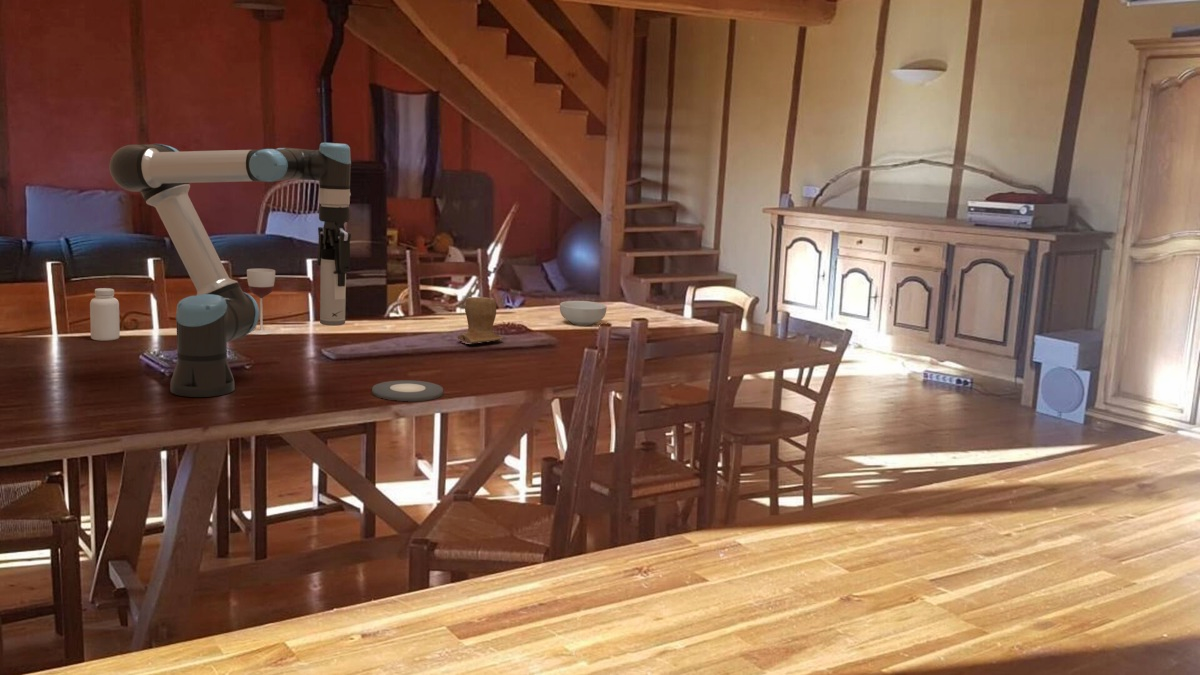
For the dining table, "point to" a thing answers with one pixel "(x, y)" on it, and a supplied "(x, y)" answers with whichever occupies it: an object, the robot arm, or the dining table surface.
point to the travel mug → (330, 292)
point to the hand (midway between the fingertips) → (333, 296)
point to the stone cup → (480, 320)
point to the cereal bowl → (582, 312)
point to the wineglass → (261, 289)
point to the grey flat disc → (407, 390)
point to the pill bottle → (104, 315)
